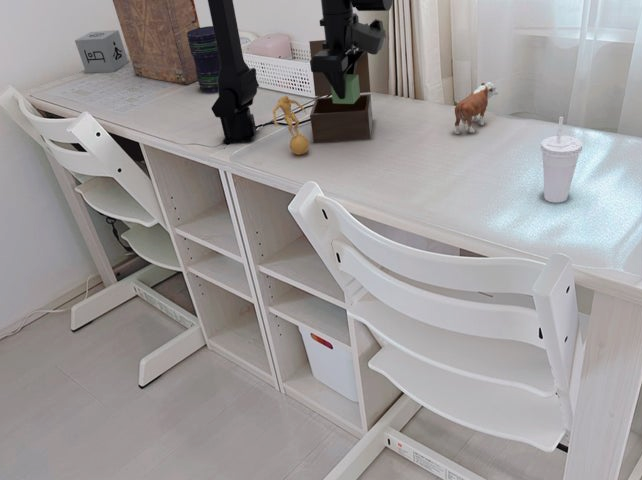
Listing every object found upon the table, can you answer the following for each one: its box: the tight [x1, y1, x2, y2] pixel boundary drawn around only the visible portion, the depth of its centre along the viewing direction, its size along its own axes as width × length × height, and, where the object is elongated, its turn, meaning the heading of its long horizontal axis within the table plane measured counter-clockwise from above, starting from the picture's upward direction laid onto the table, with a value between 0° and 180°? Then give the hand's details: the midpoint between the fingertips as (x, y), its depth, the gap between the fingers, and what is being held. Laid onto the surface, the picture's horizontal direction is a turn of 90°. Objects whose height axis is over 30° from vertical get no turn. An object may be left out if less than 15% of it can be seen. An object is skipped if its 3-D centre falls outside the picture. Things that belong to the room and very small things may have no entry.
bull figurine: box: [454, 81, 499, 135], centre depth 128 cm, size 4×13×8 cm, turn 137°
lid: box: [308, 39, 371, 97], centre depth 133 cm, size 11×12×1 cm
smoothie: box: [540, 116, 584, 204], centre depth 99 cm, size 6×6×14 cm
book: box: [112, 0, 201, 85], centre depth 176 cm, size 25×9×30 cm, turn 52°
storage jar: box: [187, 21, 221, 94], centre depth 165 cm, size 10×10×18 cm
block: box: [331, 74, 361, 104], centre depth 122 cm, size 4×4×4 cm
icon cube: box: [74, 29, 129, 74], centre depth 197 cm, size 10×10×10 cm
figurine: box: [272, 95, 310, 156], centre depth 125 cm, size 8×6×12 cm
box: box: [309, 93, 374, 144], centre depth 134 cm, size 10×12×6 cm
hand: (345, 94), depth 122 cm, fingers closed on block, 4 cm apart
